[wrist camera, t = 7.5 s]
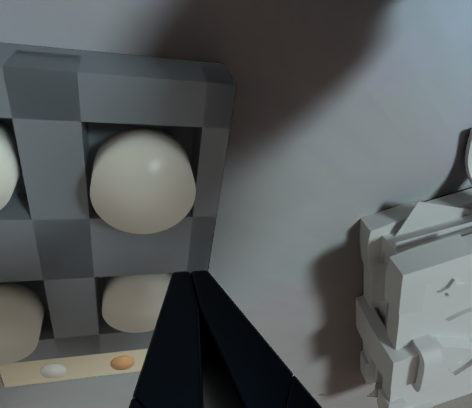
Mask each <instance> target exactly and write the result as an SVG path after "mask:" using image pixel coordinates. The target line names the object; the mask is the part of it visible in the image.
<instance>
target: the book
mask: <svg viewBox="0 0 472 408" xmlns="http://www.w3.org/2000/svg"><path fill="white" fill-rule="evenodd" d="M465 167H466V172H467V176H468V179H469V180H470V182H471V184H472V129H471V130H470V134H469V138H468V142H467V147H466V152H465ZM360 252H361V259H362V262H363V264H364V275H363V296H359V297H356V327H357V330H358V332H359V334H360V336H361V338H362V340H363V350H361V354H360V372H361V374H362V376H363V377H364V379H365V381H366V383H367V384H370V383H374V382H376V385H375V390H374V391H373V392H372V393H370V394H369V395H368V397H378V399H377V403H378V407H379V408H433V406H434V405H437V404H440V403H443V402H446V401H449V400H452V399H455V398H458V397H461V396H464V395H467V394H470V393H472V188H470V189H467V190H464V191H460V192H457V193H453V194H450V195H447V196H443V197H440V198H437V199H433V200H430V201H426V202H424V201H422V200H417V201H414V202H410V203H407V204H403V205H400V206H397V207H393V208H390V209H386V210H383V211H380V212H378V213H375V214H372V215H369V216H366V217H363V218H361V222H360Z"/></svg>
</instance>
